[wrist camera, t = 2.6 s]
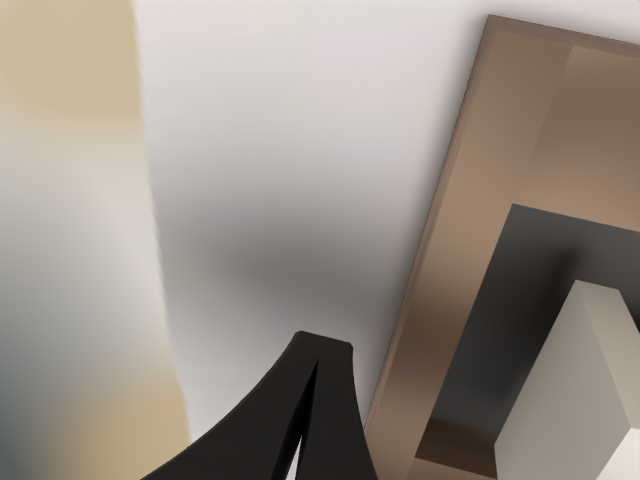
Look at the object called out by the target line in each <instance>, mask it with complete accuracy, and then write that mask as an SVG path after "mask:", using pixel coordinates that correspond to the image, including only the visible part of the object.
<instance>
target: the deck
mask: <svg viewBox="0 0 640 480" xmlns="http://www.w3.org/2000/svg"><path fill="white" fill-rule="evenodd" d="M575 280H579V281H584V282H588V283H592V284H596V285H601V286H605V287H609V288H613V289H618V290H619V292H620V294H621V296H622V298H623V300H624V302H625V304H626V306H627V308H628V311H629V313H630V315H631V317H632V319H633V321H634V323H635V325H636V327H637V329H638V331H639V334H640V45H637V44H632V43H627V42H622V41H617V40H613V39H608V38H603V37H598V36H593V35H588V34H583V33H578V32H573V31H568V30H563V29H558V28H553V27H548V26H544V25H539V24H534V23H529V22H524V21H519V20H514V19H509V18H504V17H499V16H494V15H489V16H488V19H487V22H486V26H485V29H484V32H483V36H482V39H481V42H480V46H479V49H478V52H477V55H476V59H475V62H474V65H473V69H472V72H471V75H470V79H469V82H468V85H467V89H466V92H465V95H464V99H463V102H462V105H461V109H460V112H459V115H458V118H457V122H456V125H455V128H454V132H453V135H452V138H451V142H450V145H449V148H448V152H447V155H446V158H445V162H444V165H443V168H442V172H441V175H440V178H439V181H438V185H437V188H436V191H435V195H434V198H433V201H432V205H431V208H430V211H429V215H428V218H427V221H426V225H425V228H424V231H423V234H422V238H421V241H420V244H419V248H418V251H417V254H416V258H415V261H414V264H413V268H412V271H411V274H410V278H409V281H408V284H407V288H406V291H405V294H404V297H403V301H402V304H401V307H400V311H399V314H398V317H397V321H396V324H395V327H394V331H393V334H392V337H391V341H390V344H389V347H388V351H387V354H386V357H385V360H384V364H383V367H382V370H381V374H380V377H379V380H378V384H377V387H376V390H375V394H374V397H373V400H372V404H371V407H370V410H369V413H368V417H367V420H366V423H365V427H364V430H363V431H364V435H365V438H366V442H367V446H368V449H369V453H370V456H371V459H372V463H373V466H374V469H375V471H376V474H377V477H378V480H498V478H497V468H496V458H495V448H494V444H495V442H496V440H497V438H498V436H499V434H500V432H501V430H502V428H503V426H504V424H505V422H506V420H507V418H508V416H509V414H510V412H511V410H512V408H513V406H514V404H515V402H516V400H517V398H518V396H519V394H520V392H521V390H522V388H523V386H524V384H525V382H526V380H527V378H528V376H529V374H530V371H531V369H532V367H533V365H534V363H535V361H536V359H537V357H538V355H539V353H540V351H541V349H542V347H543V345H544V343H545V341H546V339H547V337H548V335H549V333H550V331H551V329H552V327H553V325H554V323H555V321H556V319H557V317H558V315H559V313H560V311H561V309H562V307H563V305H564V303H565V300H566V298H567V296H568V294H569V292H570V290H571V288H572V286H573V284H574V282H575Z"/></svg>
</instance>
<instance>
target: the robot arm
mask: <svg viewBox="0 0 640 480" xmlns="http://www.w3.org/2000/svg"><path fill="white" fill-rule="evenodd" d="M301 436H302V438H301ZM300 439H301V445H300V451H299V457H298V464H297V470H296V476H295V480H378V477H377V474H376V471H375V469H374V466H373V463H372V459H371V456H370V453H369V449H368V446H367V442H366V438H365V435H364V431H363V427H362V422H361V418H360V413H359V408H358V403H357V398H356V391H355V384H354V376H353V347H352V345H351V344H350V343H349V342H345V341H341V340H337V339H333V338H329V337H325V336H321V335H317V334H313V333H309V332H305V331H299V332H296V333H295V335H294V336H293V338H292V340H291V342H290V343H289V345H288V346H287V348H286V349H285V351H284V352H283V353H282V355H281V356H280V357H279V359H278V360H277V361H276V363H275V364H274V365H273V366H272V368H271V369H270V370H269V371H268V372H267V373H266V375H265V376H264V377H263V378H262V379H261V380H260V382H259V383H258V384H257V385H256V386H255V387H254V388H253V389H252V390H251V391H250V392H249V393H248V394H247V395H246V396H245V397H244V398H243V399H242V400H241V401H240V402H239V403H238V405H237V406H236V407H235V408H234V409H232V410H231V411H230V412H229V413H228V414H227V415H226V416H225V417H224V418H223V419H222V420H221V421H219V422H218V423H217V424H216V425H215V426H214V427H212V428H211V429H210V430H209V431H208V432H207V433H205V434H204V435H203V436H202V437H200V438H199V439H198V440H196V441H195V442H194V443H193V444H191V445H190V446H189V447H187V448H186V449H185V450H184V451H182V452H181V453H179V454H178V455H177V456H176V457H174V458H173V459H171V460H170V461H168V462H167V463H165V464H164V465H162V466H160V467H159V468H158V469H156V470H154V471H153V472H151V473H150V474H148V475H147V476H145V477H143V478H142V479H140V480H286V477H287V475H288V472H289V469H290V466H291V464H292V461H293V458H294V455H295V453H296V450H297V447H298V444H299V442H300Z"/></svg>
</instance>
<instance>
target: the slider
mask: <svg viewBox="0 0 640 480" xmlns="http://www.w3.org/2000/svg"><path fill="white" fill-rule="evenodd" d="M494 448H495V458H496V468H497V478H498V480H640V334H639V331H638V329H637V327H636V325H635V323H634V321H633V319H632V317H631V315H630V313H629V311H628V308H627V306H626V304H625V302H624V300H623V298H622V296H621V294H620V292H619V290H618V289H613V288H609V287H605V286H601V285H596V284H592V283H588V282H584V281H579V280H575V282H574V284H573V286H572V288H571V290H570V292H569V294H568V296H567V298H566V300H565V303H564V305H563V307H562V309H561V311H560V313H559V315H558V317H557V319H556V321H555V323H554V325H553V327H552V329H551V331H550V333H549V335H548V337H547V339H546V341H545V343H544V345H543V347H542V349H541V351H540V353H539V355H538V357H537V359H536V361H535V363H534V365H533V367H532V369H531V371H530V374H529V376H528V378H527V380H526V382H525V384H524V386H523V388H522V390H521V392H520V394H519V396H518V398H517V400H516V402H515V404H514V406H513V408H512V410H511V412H510V414H509V416H508V418H507V420H506V422H505V424H504V426H503V428H502V430H501V432H500V434H499V436H498V438H497V440H496V442H495V444H494Z"/></svg>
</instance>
